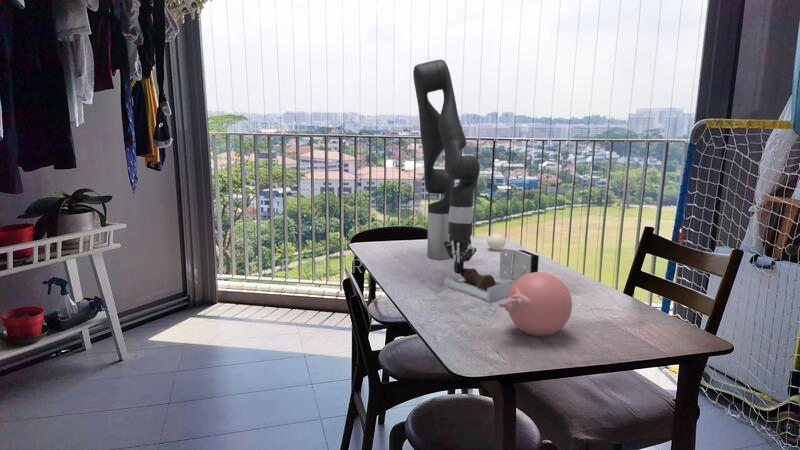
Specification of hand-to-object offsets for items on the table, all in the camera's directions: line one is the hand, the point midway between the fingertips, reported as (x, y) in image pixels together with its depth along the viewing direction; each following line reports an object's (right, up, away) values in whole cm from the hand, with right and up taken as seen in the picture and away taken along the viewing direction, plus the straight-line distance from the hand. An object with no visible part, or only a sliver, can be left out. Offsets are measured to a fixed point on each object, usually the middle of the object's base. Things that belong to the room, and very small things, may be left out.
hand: (458, 273), depth 169 cm
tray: (+5, -5, -5) cm, 9 cm away
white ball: (+20, +5, +43) cm, 48 cm away
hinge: (+20, -3, +4) cm, 20 cm away
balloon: (+13, -12, -39) cm, 43 cm away
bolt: (+5, -4, -4) cm, 7 cm away
